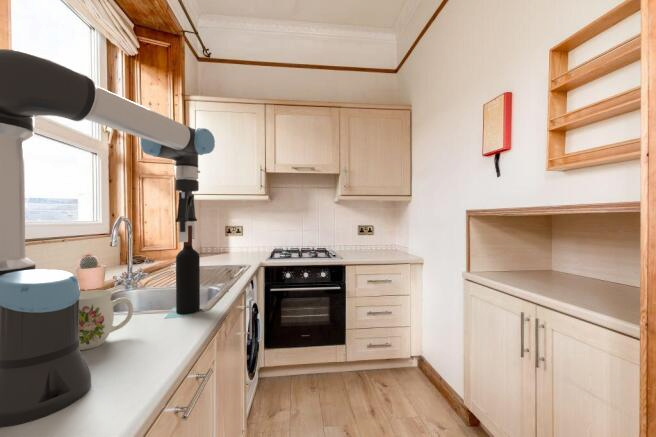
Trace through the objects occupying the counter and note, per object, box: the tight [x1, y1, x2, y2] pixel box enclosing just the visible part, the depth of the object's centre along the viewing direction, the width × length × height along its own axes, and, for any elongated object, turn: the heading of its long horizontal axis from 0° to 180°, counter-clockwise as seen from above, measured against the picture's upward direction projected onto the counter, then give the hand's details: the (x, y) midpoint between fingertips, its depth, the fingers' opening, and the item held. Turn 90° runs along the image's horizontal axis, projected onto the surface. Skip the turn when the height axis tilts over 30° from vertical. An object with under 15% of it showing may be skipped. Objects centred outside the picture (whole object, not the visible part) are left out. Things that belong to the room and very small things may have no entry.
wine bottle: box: [175, 226, 201, 315], centre depth 107 cm, size 8×8×30 cm
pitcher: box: [79, 289, 134, 351], centre depth 81 cm, size 11×18×14 cm, turn 131°
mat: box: [163, 306, 193, 320], centre depth 107 cm, size 12×12×1 cm
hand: (187, 240), depth 107 cm, fingers open, 13 cm apart
